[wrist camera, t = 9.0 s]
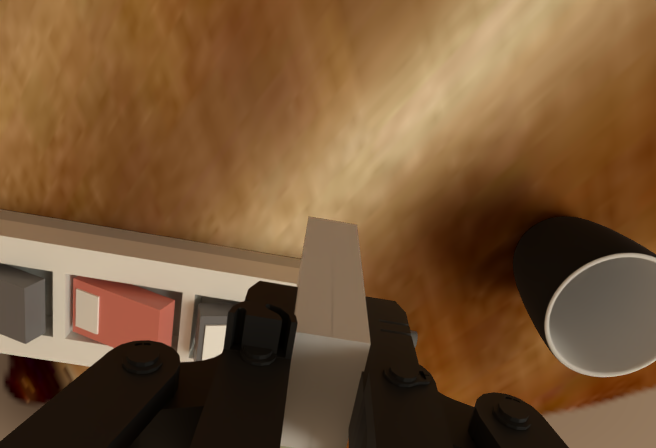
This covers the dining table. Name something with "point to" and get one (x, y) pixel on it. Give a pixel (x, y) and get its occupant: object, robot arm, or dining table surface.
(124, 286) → the rocker mid
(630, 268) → the mug
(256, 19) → the dining table surface
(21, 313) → the rocker
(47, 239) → the strip
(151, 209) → the dining table surface
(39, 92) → the dining table surface
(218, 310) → the rocker
